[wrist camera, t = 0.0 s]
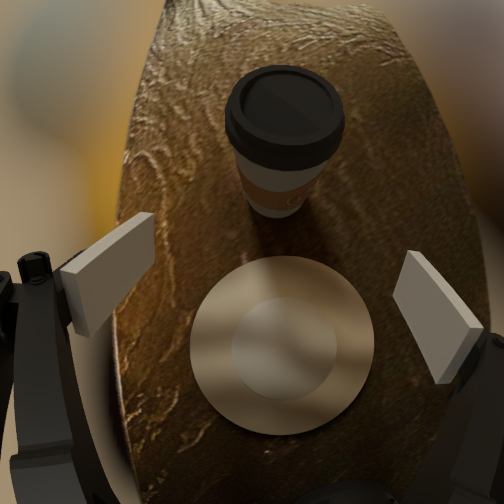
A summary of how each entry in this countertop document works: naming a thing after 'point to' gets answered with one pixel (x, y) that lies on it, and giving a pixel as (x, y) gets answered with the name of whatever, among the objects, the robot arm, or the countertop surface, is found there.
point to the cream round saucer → (282, 345)
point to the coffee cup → (282, 134)
